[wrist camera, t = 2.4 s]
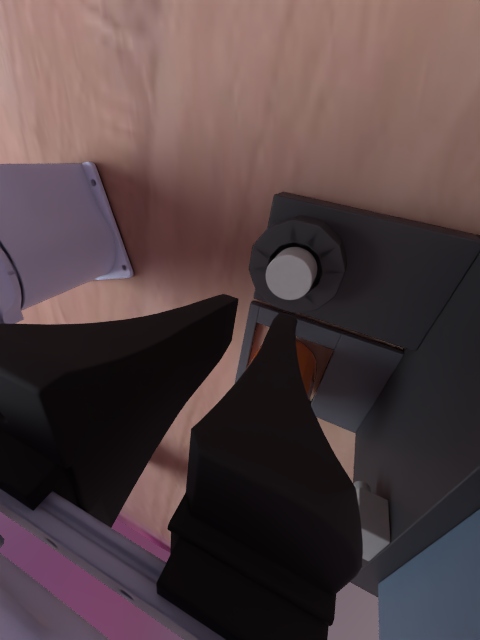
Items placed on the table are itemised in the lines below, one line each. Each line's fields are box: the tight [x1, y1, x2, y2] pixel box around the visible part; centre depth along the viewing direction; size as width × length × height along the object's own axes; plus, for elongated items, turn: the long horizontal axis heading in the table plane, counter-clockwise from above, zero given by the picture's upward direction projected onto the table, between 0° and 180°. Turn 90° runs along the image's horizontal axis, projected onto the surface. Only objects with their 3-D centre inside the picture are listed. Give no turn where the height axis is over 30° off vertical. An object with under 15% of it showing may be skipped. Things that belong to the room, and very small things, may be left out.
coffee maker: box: [235, 235, 480, 640], centre depth 14 cm, size 17×17×15 cm
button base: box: [249, 192, 480, 351], centre depth 17 cm, size 11×7×4 cm, turn 82°
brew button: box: [266, 247, 317, 300], centre depth 16 cm, size 3×3×2 cm
